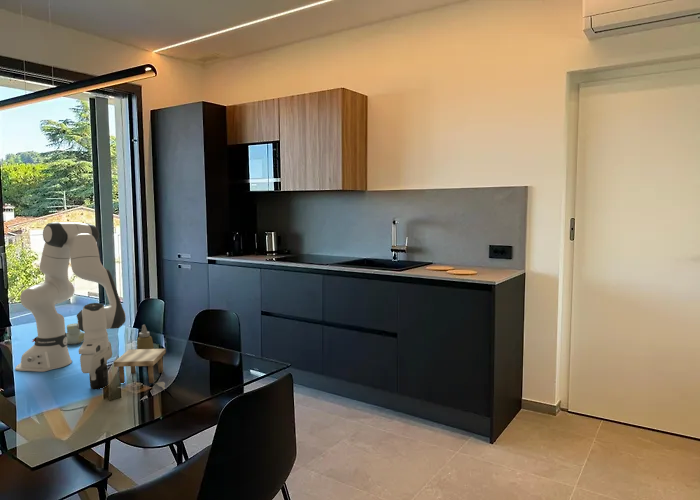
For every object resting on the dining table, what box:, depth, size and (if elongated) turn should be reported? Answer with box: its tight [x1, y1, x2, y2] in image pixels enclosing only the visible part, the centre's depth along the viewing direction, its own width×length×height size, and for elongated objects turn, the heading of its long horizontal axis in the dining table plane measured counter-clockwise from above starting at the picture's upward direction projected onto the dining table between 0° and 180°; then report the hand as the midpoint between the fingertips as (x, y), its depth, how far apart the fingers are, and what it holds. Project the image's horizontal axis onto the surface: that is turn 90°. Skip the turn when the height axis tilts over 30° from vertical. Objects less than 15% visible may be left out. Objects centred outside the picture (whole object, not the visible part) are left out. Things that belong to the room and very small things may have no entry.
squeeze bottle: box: [136, 324, 155, 349], centre depth 232 cm, size 8×8×18 cm
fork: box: [154, 381, 166, 390], centre depth 201 cm, size 3×21×3 cm, turn 44°
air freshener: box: [66, 322, 84, 345], centre depth 263 cm, size 11×8×10 cm
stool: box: [113, 348, 167, 384], centre depth 214 cm, size 16×16×10 cm
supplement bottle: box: [88, 357, 110, 390], centre depth 204 cm, size 7×7×12 cm
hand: (98, 375), depth 205 cm, fingers closed on supplement bottle, 7 cm apart
